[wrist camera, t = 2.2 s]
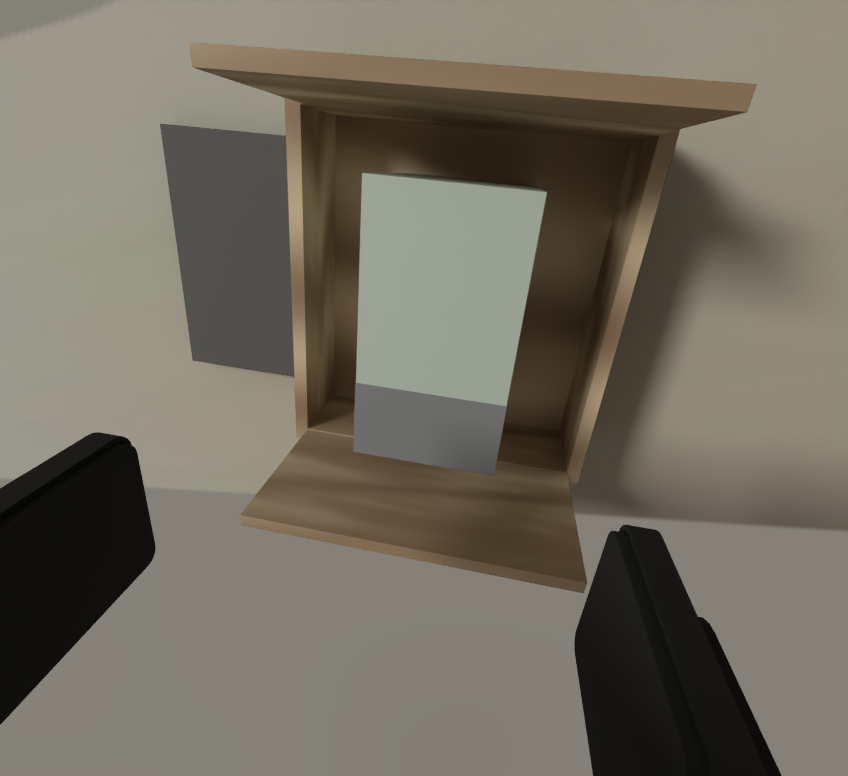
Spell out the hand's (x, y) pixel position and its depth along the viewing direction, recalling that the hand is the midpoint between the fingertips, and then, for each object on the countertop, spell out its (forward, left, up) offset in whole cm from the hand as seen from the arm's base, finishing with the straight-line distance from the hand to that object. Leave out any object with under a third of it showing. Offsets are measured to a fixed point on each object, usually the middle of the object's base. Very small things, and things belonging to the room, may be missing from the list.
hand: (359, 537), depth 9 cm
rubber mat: (-1, -11, -17) cm, 20 cm away
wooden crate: (-1, 0, -17) cm, 17 cm away
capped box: (-1, 0, -16) cm, 16 cm away
